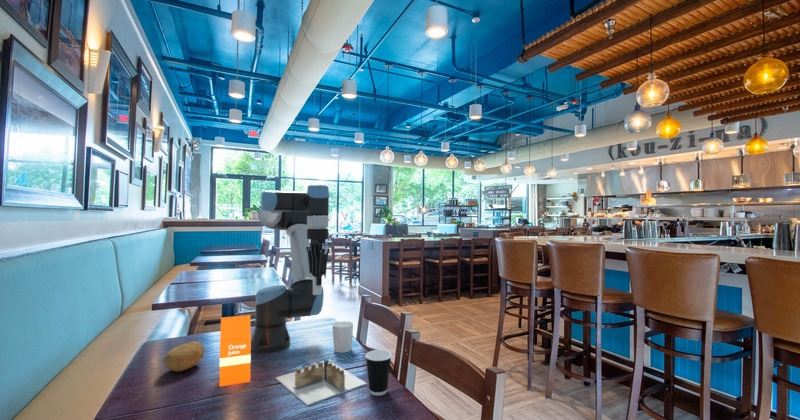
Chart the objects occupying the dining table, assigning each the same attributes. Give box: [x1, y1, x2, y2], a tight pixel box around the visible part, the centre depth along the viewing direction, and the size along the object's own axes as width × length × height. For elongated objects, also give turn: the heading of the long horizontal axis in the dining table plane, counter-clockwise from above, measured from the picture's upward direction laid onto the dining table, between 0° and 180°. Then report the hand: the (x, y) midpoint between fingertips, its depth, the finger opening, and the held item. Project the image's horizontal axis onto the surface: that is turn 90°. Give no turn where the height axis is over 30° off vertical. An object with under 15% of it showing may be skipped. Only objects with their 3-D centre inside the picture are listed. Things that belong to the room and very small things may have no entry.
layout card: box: [275, 361, 367, 407], centre depth 116 cm, size 22×20×1 cm
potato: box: [163, 340, 205, 373], centre depth 124 cm, size 10×14×8 cm
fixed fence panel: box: [323, 359, 345, 390], centre depth 114 cm, size 11×1×6 cm, turn 41°
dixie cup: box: [364, 349, 393, 396], centre depth 110 cm, size 8×8×11 cm
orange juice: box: [219, 314, 252, 387], centre depth 117 cm, size 8×9×20 cm
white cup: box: [332, 320, 354, 354], centre depth 143 cm, size 8×8×10 cm
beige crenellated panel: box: [295, 361, 324, 387], centre depth 114 cm, size 9×1×5 cm, turn 130°
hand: (317, 294), depth 131 cm, fingers closed
